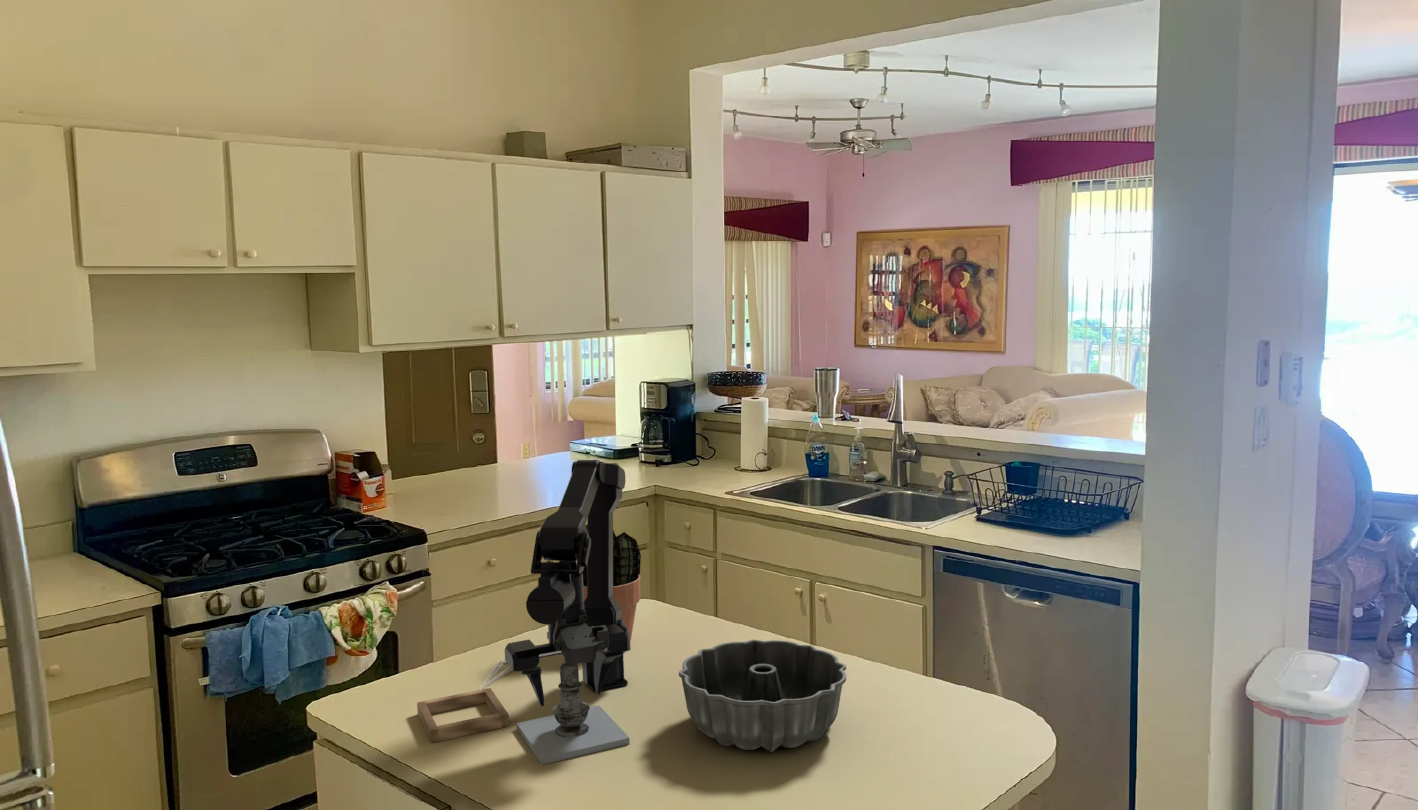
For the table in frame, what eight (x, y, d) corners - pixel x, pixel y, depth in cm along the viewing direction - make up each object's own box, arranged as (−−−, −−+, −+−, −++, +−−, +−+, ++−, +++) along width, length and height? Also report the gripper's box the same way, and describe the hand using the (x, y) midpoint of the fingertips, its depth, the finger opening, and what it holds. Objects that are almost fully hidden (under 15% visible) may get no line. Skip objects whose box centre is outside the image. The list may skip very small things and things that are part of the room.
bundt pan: (862, 703, 166) (861, 645, 165) (828, 777, 142) (827, 709, 141) (712, 687, 175) (710, 632, 174) (656, 754, 150) (654, 691, 149)
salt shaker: (583, 739, 154) (580, 664, 152) (547, 737, 155) (543, 662, 154) (595, 723, 159) (592, 650, 158) (561, 721, 161) (557, 649, 159)
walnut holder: (491, 698, 173) (490, 687, 173) (509, 725, 162) (508, 714, 162) (417, 713, 168) (417, 702, 167) (431, 742, 156) (430, 730, 156)
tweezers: (503, 665, 190) (502, 655, 190) (525, 667, 189) (524, 657, 189) (456, 708, 174) (455, 697, 174) (480, 710, 173) (479, 699, 172)
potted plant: (614, 658, 190) (608, 530, 188) (560, 646, 198) (554, 523, 195) (656, 636, 202) (651, 515, 199) (603, 625, 209) (598, 509, 206)
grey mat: (599, 710, 166) (599, 705, 166) (629, 743, 154) (629, 737, 154) (516, 729, 160) (516, 723, 160) (541, 764, 148) (541, 758, 148)
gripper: (520, 628, 144) (526, 731, 145) (640, 607, 152) (644, 705, 153) (501, 607, 154) (506, 704, 155) (615, 588, 162) (619, 681, 163)
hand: (570, 699), depth 157 cm, fingers open, 9 cm apart
